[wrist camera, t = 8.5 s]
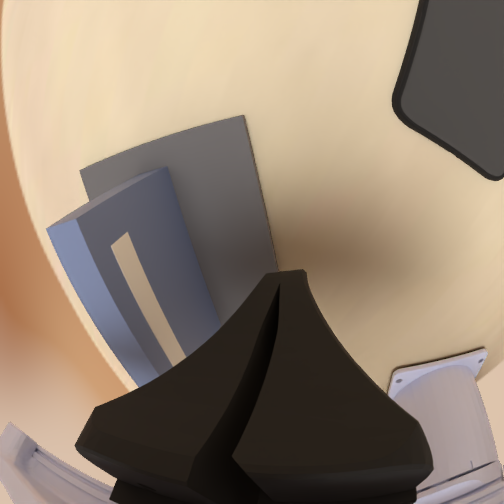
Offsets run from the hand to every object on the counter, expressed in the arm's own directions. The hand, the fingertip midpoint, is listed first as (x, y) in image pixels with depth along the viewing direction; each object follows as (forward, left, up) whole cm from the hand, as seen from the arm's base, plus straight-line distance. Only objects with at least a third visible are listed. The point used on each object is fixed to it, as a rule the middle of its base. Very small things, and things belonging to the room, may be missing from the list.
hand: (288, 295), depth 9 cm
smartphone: (+10, -12, -4) cm, 16 cm away
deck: (0, +5, -3) cm, 7 cm away
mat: (0, +5, -4) cm, 7 cm away
